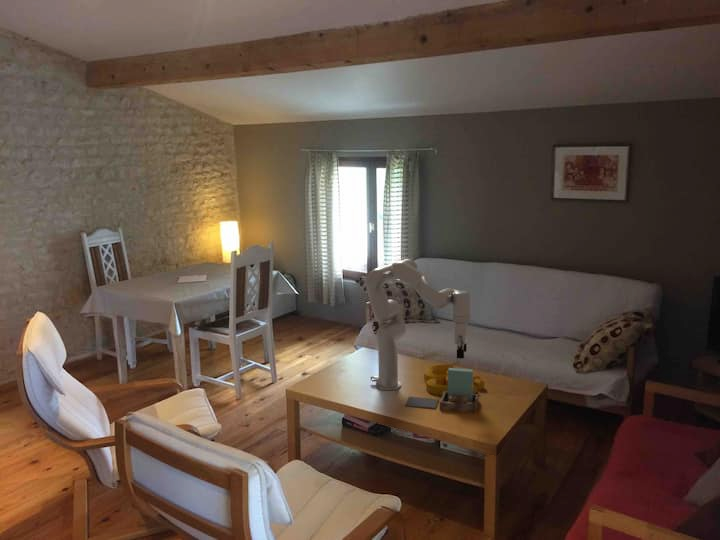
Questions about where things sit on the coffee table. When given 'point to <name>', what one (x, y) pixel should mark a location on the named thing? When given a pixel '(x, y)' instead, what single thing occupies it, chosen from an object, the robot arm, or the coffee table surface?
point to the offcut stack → (459, 399)
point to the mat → (422, 402)
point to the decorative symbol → (445, 380)
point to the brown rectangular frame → (458, 404)
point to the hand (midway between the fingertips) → (461, 354)
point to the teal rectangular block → (460, 383)
